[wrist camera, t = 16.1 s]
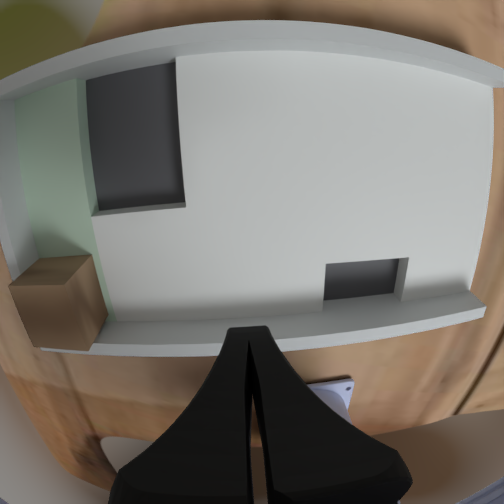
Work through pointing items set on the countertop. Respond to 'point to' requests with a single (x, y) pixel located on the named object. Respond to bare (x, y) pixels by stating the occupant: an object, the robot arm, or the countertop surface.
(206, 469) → the robot arm
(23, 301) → the walnut block
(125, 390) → the countertop surface
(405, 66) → the tray
